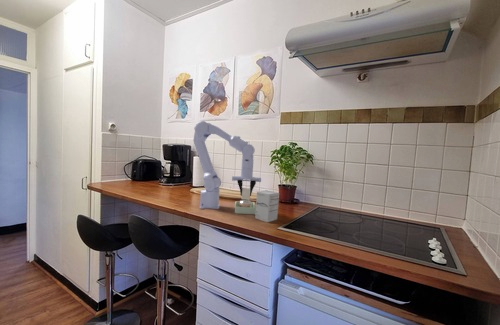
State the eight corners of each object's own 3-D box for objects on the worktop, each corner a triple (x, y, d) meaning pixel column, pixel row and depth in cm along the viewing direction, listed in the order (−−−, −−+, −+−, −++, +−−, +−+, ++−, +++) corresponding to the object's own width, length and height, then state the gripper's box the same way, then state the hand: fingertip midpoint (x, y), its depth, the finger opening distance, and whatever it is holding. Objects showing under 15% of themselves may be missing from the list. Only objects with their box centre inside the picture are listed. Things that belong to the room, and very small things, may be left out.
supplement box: (254, 219, 104) (256, 191, 104) (265, 216, 110) (266, 189, 109) (267, 223, 99) (269, 194, 99) (277, 220, 105) (279, 192, 104)
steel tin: (239, 211, 115) (239, 202, 114) (239, 208, 120) (239, 199, 120) (250, 211, 115) (251, 202, 115) (250, 208, 121) (250, 200, 120)
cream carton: (241, 199, 115) (242, 189, 115) (241, 197, 119) (242, 187, 119) (249, 199, 115) (250, 189, 115) (249, 197, 119) (249, 188, 119)
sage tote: (234, 214, 110) (235, 206, 110) (234, 207, 122) (235, 201, 122) (255, 215, 111) (256, 207, 111) (253, 208, 123) (254, 202, 123)
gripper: (232, 168, 112) (231, 196, 113) (262, 170, 113) (260, 197, 114) (232, 167, 119) (231, 193, 120) (260, 168, 120) (259, 194, 121)
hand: (245, 195), depth 117 cm, fingers closed on cream carton, 4 cm apart
